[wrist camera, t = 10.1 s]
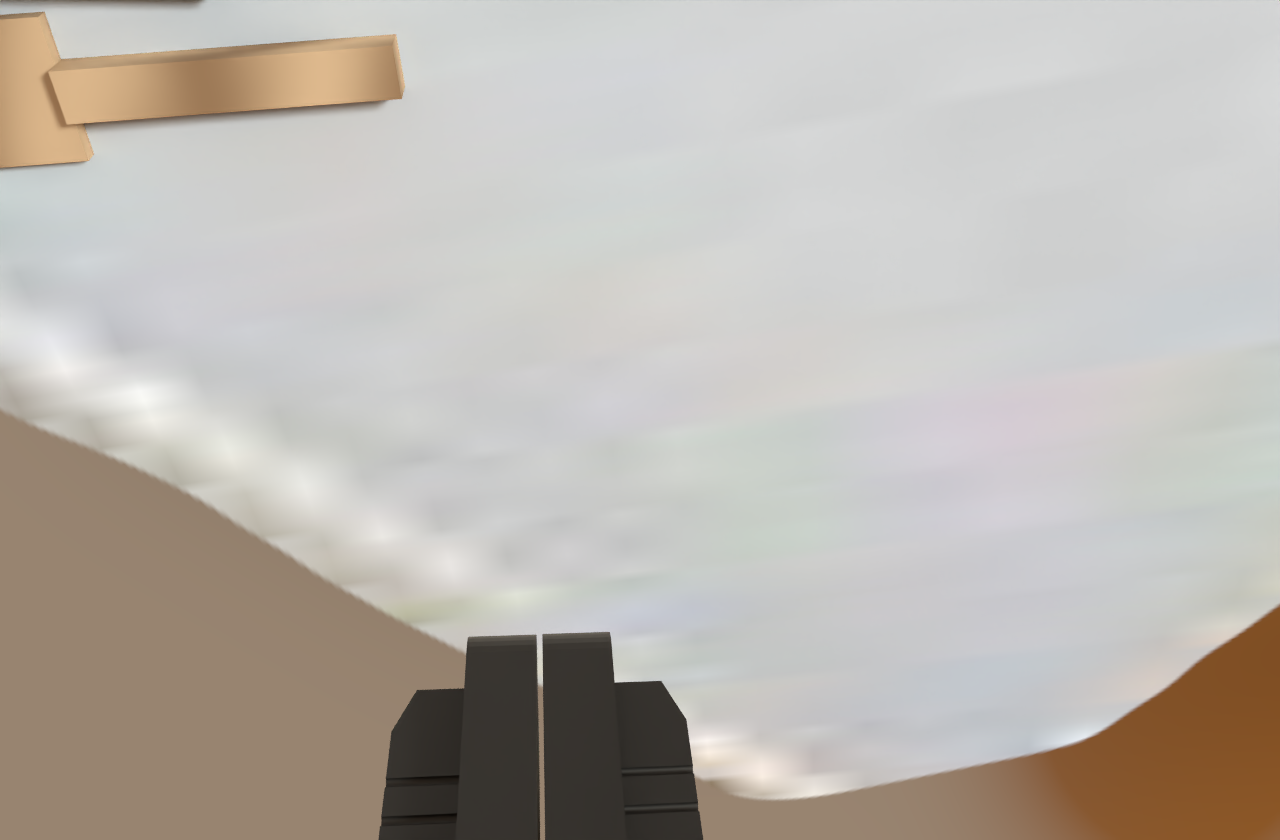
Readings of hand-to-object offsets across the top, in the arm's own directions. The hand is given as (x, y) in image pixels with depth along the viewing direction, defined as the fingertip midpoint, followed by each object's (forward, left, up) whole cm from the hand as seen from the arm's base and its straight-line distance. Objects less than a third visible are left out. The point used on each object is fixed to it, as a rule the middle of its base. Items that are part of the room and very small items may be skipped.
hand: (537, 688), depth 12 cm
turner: (+3, -12, -27) cm, 30 cm away
